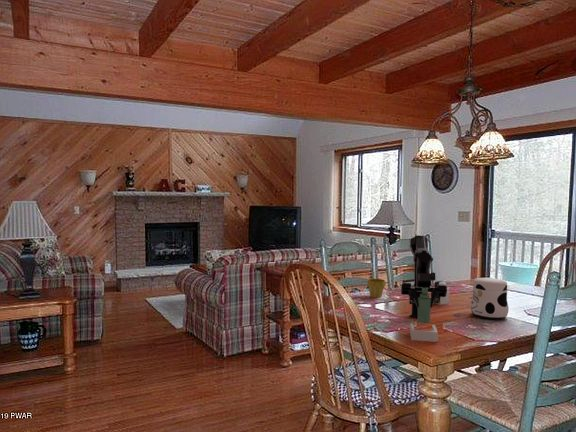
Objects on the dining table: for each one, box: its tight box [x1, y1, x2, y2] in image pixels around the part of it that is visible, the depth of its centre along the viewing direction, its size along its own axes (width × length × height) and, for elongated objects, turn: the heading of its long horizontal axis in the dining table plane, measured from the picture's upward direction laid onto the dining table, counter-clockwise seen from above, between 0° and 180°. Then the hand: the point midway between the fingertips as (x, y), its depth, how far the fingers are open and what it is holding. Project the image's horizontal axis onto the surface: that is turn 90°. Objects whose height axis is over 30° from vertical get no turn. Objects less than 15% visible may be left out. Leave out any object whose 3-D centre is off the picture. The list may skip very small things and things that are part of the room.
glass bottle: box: [416, 287, 432, 324], centre depth 189 cm, size 5×5×14 cm
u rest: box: [409, 322, 439, 343], centre depth 190 cm, size 10×10×4 cm
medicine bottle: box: [430, 280, 450, 306], centre depth 249 cm, size 7×7×12 cm
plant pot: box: [366, 278, 386, 299], centre depth 262 cm, size 10×10×10 cm
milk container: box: [470, 277, 510, 320], centre depth 223 cm, size 17×17×18 cm
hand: (424, 306), depth 188 cm, fingers closed on glass bottle, 5 cm apart
